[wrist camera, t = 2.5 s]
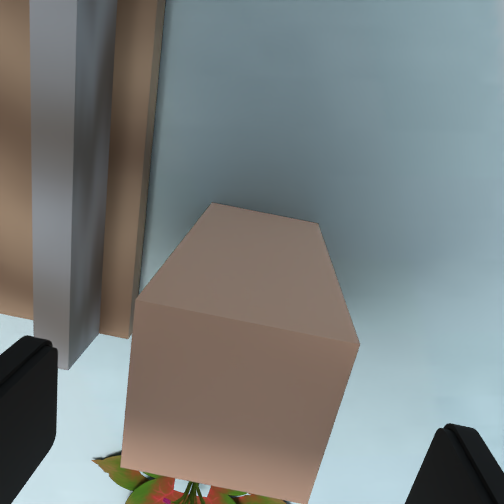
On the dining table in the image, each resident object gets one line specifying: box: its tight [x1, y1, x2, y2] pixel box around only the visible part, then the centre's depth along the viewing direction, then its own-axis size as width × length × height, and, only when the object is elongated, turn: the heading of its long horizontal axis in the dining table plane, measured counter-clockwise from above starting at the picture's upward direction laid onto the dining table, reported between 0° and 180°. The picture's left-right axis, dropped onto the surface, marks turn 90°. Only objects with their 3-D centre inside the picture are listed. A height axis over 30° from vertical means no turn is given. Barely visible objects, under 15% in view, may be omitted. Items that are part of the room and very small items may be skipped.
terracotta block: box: [120, 202, 360, 504], centre depth 14 cm, size 5×5×10 cm
